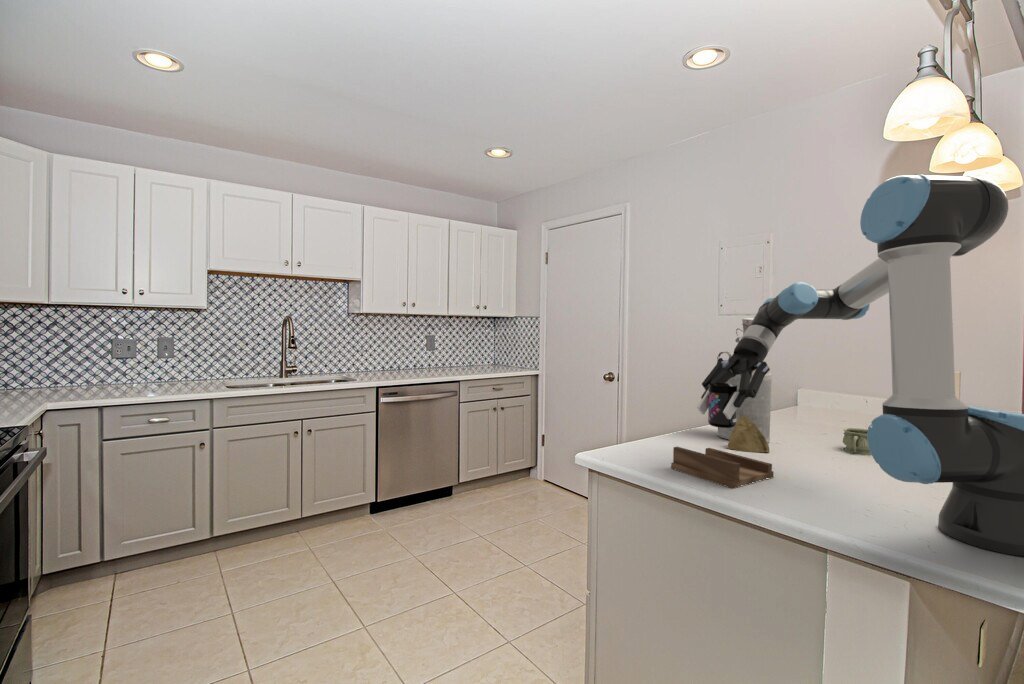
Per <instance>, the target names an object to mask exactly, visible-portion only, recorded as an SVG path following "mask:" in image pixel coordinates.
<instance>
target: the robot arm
mask: <svg viewBox="0 0 1024 684" xmlns="http://www.w3.org/2000/svg"><path fill="white" fill-rule="evenodd" d="M1008 212H1009V199H1008V197H1007V194H1006V193H1005V191H1004V189H1003V188H1002V187H1001V186H1000V185H998V184H997V183H996V182H994V181H992V180H990V179H989V178H985V177H982V176H975V175H974V176H972V175H965V176H963V175H961V176H959V175H957V176H955V175H930V174H929V175H927V174H926V175H924V174H921V173H919V174H918V173H917V174H915V173H914V174H912V175H897V176H894V177H891V178H889V179H886V180H885V181H883V182H882V183H881V184H879V185H877V187H875V189H874V190H873V191H872V192H871V194H870V196H869V198H867V199H866V202H865V203H864V205H863V209H862V211H861V214H860V230H861V234H862V235H863V236H865V239H866V240H868V241H870V242H872V243H875V244H876V245H877V246H876V247H877V257H878V258H877V259H876V260H874V261H873V262H871V263H870V264H868V265H867V266H866V267H864V268H863V269H861V270H860V271H858V272H857V273H855V274H854V275H853V276H851V277H849V278H848V279H846V280H845V281H844V282H843V283H841V284H840V285H838V286H837V287H835V288H832V289H831V288H830V289H829V288H828V289H826V288H825V289H816V288H815V287H814V286H813V285H811V284H808V283H806V282H803V281H798V282H794V283H792V284H790V285H789V286H787V287H785V288H784V289H782V290H781V292H780V293H779V294H778V295H776V296H775V297H773V298H767V299H766V300H765V301H764V302H763V303H762V305H761V306H759V308H758V310H757V312H756V313H755V316H754V317H753V318H754V319H753V321H752V322H751V324H750V325H749V327H748V328H747V330H746V331H745V333H744V335H743V334H742V336H741V338H740V339H739V342H738V343H737V344H736V345H735V347H734V350H733V354H732V355H733V356H732V355H731V356H732V357H730V358H729V357H728V359H729V360H728V359H723V357H718V361H717V362H716V363H715V366H714V367H713V368H712V370H711V371H710V372H709V374H707V376H706V377H705V379H704V380H703V381H702V383H701V385H702V387H703V389H704V392H703V394H702V395H701V397H700V398H701V399H700V401H699V403H698V404H697V406H696V408H697V409H698V412H700V413H701V415H705V414H706V412H708V411H707V410H708V404H709V384H710V383H726V382H727V381H728V380H729V379H730V378H733V377H735V376H736V375H739V374H741V380H740V387H739V390H738V391H739V393H738V392H735V393H734V394H733V396H732V397H731V399H730V401H729V402H728V404H727V406H726V407H725V409H724V411H723V413H724V415H725V416H726V418H727V419H731V417H732V416H733V414H734V412H735V411H736V409H737V408H739V407H741V405H742V403H743V402H744V400H745V399H746V398H747V397H751V398H754V397H755V396H756V394H757V392H758V390H759V388H760V385H761V383H762V381H763V379H764V376H765V375H766V374H767V372H768V371H770V370H771V369H770V367H769V365H768V363H767V361H765V359H766V357H767V356H768V353H769V352H770V351H771V349H772V347H773V346H774V344H775V342H776V340H777V339H778V337H779V335H780V334H781V333H782V331H783V330H784V329H785V328H786V327H788V326H789V325H791V324H792V323H793V322H795V321H797V320H843V321H849V320H856V319H860V318H863V317H864V316H865V315H866V314H867V312H868V311H869V310H870V304H872V303H873V302H875V301H877V300H878V299H880V298H882V297H884V296H886V295H887V294H888V299H889V301H888V302H889V330H890V331H889V332H890V354H891V356H890V357H891V360H890V361H891V387H892V394H891V395H890V396H889V397H888V398H886V399H885V400H884V401H883V402H882V414H880V415H879V416H877V417H875V418H874V419H872V420H871V424H870V425H868V428H867V430H868V431H867V442H868V446H869V450H870V452H871V454H872V455H871V456H872V457H873V459H874V461H875V463H876V464H877V465H879V467H880V469H881V470H882V471H883V472H884V473H886V474H887V475H888V476H890V477H891V478H892V479H895V480H897V481H901V482H905V483H919V484H923V485H932V484H935V483H936V484H937V483H943V484H945V483H952V485H951V489H950V492H949V494H948V496H947V498H946V499H945V501H944V503H943V506H942V507H941V509H940V511H939V514H938V518H937V519H938V523H937V524H938V525H937V527H938V528H939V529H940V531H942V532H943V533H944V534H946V535H948V536H949V537H951V538H953V539H956V540H958V541H959V542H963V543H965V544H969V545H972V546H975V547H978V548H980V549H984V550H985V549H986V550H989V551H992V552H996V553H997V552H998V553H1002V554H1006V555H1007V554H1008V555H1013V556H1020V557H1024V413H1018V412H1014V411H1013V412H1011V411H1007V410H1006V411H1005V410H999V409H994V408H988V407H987V408H986V407H980V406H974V405H967V404H965V403H964V402H962V401H961V400H960V399H959V398H958V397H957V396H956V377H955V375H956V374H955V355H954V351H955V350H954V348H955V347H954V327H953V324H954V323H953V303H952V302H953V301H952V300H953V299H952V298H953V297H952V277H951V274H952V273H951V257H961V256H963V255H966V254H967V253H970V252H971V251H972V250H974V249H976V248H978V247H980V246H982V245H983V244H984V243H986V242H987V241H988V240H990V239H991V238H993V236H994V235H996V233H997V232H998V231H1000V229H1001V228H1002V227H1003V225H1004V223H1005V221H1006V220H1007V216H1008ZM763 361H764V362H763ZM754 370H756V371H755V373H754V375H753V377H752V372H753V371H754ZM731 371H732V372H731ZM751 377H752V379H751ZM750 379H751V382H750Z"/></svg>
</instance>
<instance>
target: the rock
mask: <svg viewBox="0 0 1024 684" xmlns="http://www.w3.org/2000/svg"><path fill="white" fill-rule="evenodd" d="M726 449H727V450H735V451H741V452H752V453H753V452H755V453H770V451H771V450H770V446H769V442H768V443H767V441H766V439H765V437H764V436H763V434H762V433H761V432H760V431H759V429H758V428H757V426H756V425H755V424H754V423H753V422H752V421H751V420H750V419H749V418H747V417H745V416H744V417H743V416H740V418H739V420H738V421H737V423H736V426H735V428H734V430H733V432H732V434H731V436H730V440H729V441H728V444H727V447H726Z"/></svg>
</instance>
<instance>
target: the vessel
mask: <svg viewBox="0 0 1024 684" xmlns="http://www.w3.org/2000/svg"><path fill="white" fill-rule="evenodd" d="M843 431H844V432H843V438H842V443H843V445H845V448H844V451H845V452H848V453H850V454H856V455H862V456H872V454H871V452H870V450H869V446H868V442H867V431H868V428H865V429H864V428H857V427H847V428H846V427H845V428H843Z"/></svg>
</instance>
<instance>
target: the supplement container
mask: <svg viewBox="0 0 1024 684" xmlns="http://www.w3.org/2000/svg"><path fill="white" fill-rule="evenodd" d="M737 388H738V385H735V384H729V383H710V384H709V404H708V409H707V410H708V411H707V422H708V424H709V426H711V427H715V428H718V427H720V428H732V427H735V426H736V422H737V409H736V411H735V412H734V414H733V416H732V417H731V419H727V418H726V416H725V415H724V413H723V411H724V409H725V407H726V406H727V404H728V402H729V401H730V399H731V397H732V396H733V394H734V393H735V392H738V391H737Z"/></svg>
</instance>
